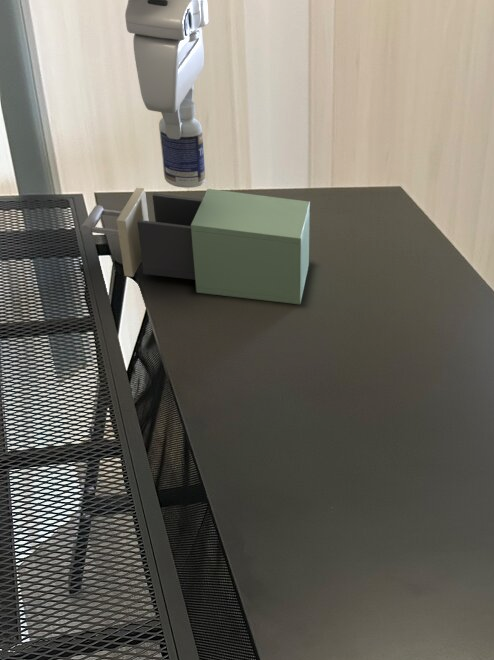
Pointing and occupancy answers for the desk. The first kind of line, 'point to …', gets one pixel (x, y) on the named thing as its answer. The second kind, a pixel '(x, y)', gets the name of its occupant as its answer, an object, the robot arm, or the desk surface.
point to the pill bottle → (184, 150)
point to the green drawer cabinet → (251, 246)
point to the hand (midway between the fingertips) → (180, 128)
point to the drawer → (152, 234)
